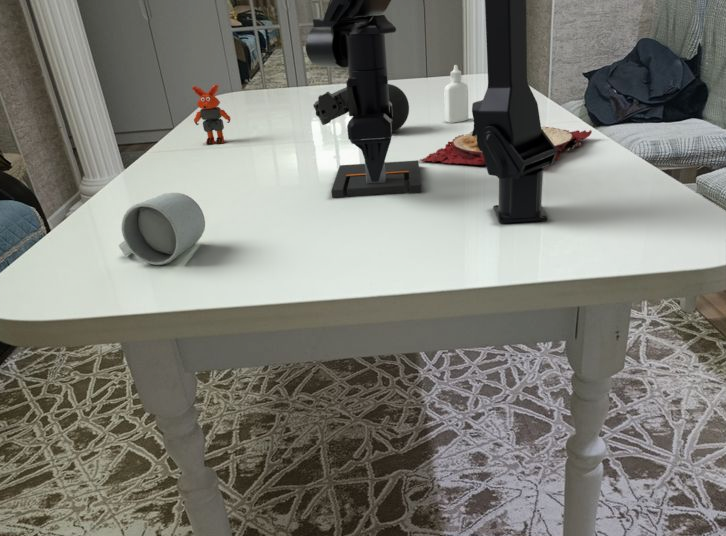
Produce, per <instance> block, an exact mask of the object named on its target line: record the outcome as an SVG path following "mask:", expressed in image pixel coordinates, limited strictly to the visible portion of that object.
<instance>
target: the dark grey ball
mask: <svg viewBox="0 0 726 536" xmlns="http://www.w3.org/2000/svg"><path fill="white" fill-rule="evenodd" d="M388 92H389V101H390V102H391V103H392V112H393V118H390V119H392V125H391V128H392V133H393V132H395V131H398V130H399V129H400V128H402V127H403V126H404V125H405V123H406V121H407V120H408V117H409V113H410V103H409V100H408V97H407V95H406V93H405V92H404V91H403V90H402V89H401V88H400V87H398V86H396V85H394V84H390V83H388ZM387 116H388V117H389V115H387Z"/></svg>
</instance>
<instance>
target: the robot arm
mask: <svg viewBox="0 0 726 536" xmlns="http://www.w3.org/2000/svg"><path fill="white" fill-rule="evenodd" d="M391 2H392V0H329V2H328V5H327V6H326V7H327V8H326V10H325V13H324V17H318V18H313V19H312V24H313V25H312V26H313V28H312V29H311V30H310V31H309V32H308V34H307V37H306V41H305V42H306V43H305V44H304V45H305V52H306V55H307V58H308V60H309V61H310V62H311V63H312V64H313V65H314V66H316V67H320V68H321V67H323V68H347V70H348V78H347V80H346V82H345V83H346V87H343V88H340V89H339V90H337V91H334V92H332V93H331V92H330V91H326V92H325V93H324V94H319V96H318V97H317V101H315V102H314V104H313V108H314V110H315V115H316V117H317V118H318V119H319V121H320V123H321V125H322V126H325V125H328V124H330V123H331V121H333V120H335V119H337V118H339V117H341V116H343V115H346V114H348V116H349V117H351V118H350V120H349V121H348V123H347V126H346V128H347V138H348V141H349V142H350V143H351V145H354V146H356V147H357V148H358V149H360V150H361V152H362V155H363V158H364V163H365V162H366V165H367V169H368V172H369V175H370V178H371V181H372V182H378V181H379V178H380V175H381V171H382V168H383V165H384V161H385V162H386V157H387V154H388V152H389V148H390V144H391V141H392V138H393V137H392V135H393V134H392V133H393V132H392V128H391V125H392V119H390V118H393V112H392V103H391V102H390V101H389V92H388V84H389V73H388V67H387V66H388V64H387V49H386V48H387V47H386V36H385V35H387V34H393V33H396V32H397V27H396V26H395V25H394V23H392V22H391V21H389V20H388V18H387V17H386V15H385V14H384V13H385V12H386V10H387V9H388V8H389V5H390V4H391ZM484 12H485V13H484V15H485V38H486V39H485V41H486V43H485V44H486V63H487V64H486V65H487V67H486V69H487V88H486V91H485V93H484V96H483V98H482V99H481V100H478V101H474V102H473V103H472V104H471V105H472V106H471V114H472V117H473V118H472V119H473V130H472V132H473V133H472V136H476V140H477V145H478V148H479V150H480V151H482V153H483V157H484V161H485V164H484V165H485V168H486V171H487V174H488V176H495V177H497V179H498V204H495V205H493V206H492V210H493V213H494V215H495V217H496V220H497V222H498V223H500V224H510V223H523V222H524V223H526V222H541V221H547V220H548V218H549V216H548V214H547V213H546V210H545V209H544V208H543V206H542V202H543V201H542V200H543V181H544V179H543V178H544V168H545V167H547V166H551V165H553V164H554V162H555V160H554V159H555V157H556V154H557V148H556V147H555V146H554V144H553V143H552V142H551V140H550V139H549V138H548V136H547V135H546V134H545V133H544V131H543V130H542V129H541V127H542V125H541V117H540V109H539V105H538V101H537V99H536V98H535V95H534V93H533V91H532V89H531V87H530V85H529V82H528V46H527V45H528V43H527V41H528V40H527V38H528V37H527V36H528V35H527V33H528V32H527V0H484ZM387 115H389V117H388V116H387Z"/></svg>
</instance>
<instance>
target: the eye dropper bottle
mask: <svg viewBox="0 0 726 536" xmlns="http://www.w3.org/2000/svg"><path fill="white" fill-rule="evenodd" d="M443 95H444V96H443V97H444V98H443V100H444V121H445V122H446V123H450V124H453V123H462V122H465V121H468V119H469V86H468V84H467V83H465V82H464V81H463V82H462V71H461V70H459V67H458V64H454V65H453V70H451V71H450V83H448V84H447V85H445V87H444V89H443Z"/></svg>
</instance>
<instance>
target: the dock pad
mask: <svg viewBox="0 0 726 536" xmlns="http://www.w3.org/2000/svg"><path fill="white" fill-rule="evenodd" d="M385 173H386V174H402V173H404V179H405V181H406V180H408V184H409V186H408V187H409V193H410V194H415V193H422V181H421V173H420V165H419V160H416V159H415V160H404V161H385ZM354 176H366V169H365V163H354V164H339V167H338V169H337V172H336V175H335V178H334V182H333V184H332V187H331V197H332V198H333V199H334V198H344V197H345V193H346V191H347V187H348V184H349V180H350V177H354Z"/></svg>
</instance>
